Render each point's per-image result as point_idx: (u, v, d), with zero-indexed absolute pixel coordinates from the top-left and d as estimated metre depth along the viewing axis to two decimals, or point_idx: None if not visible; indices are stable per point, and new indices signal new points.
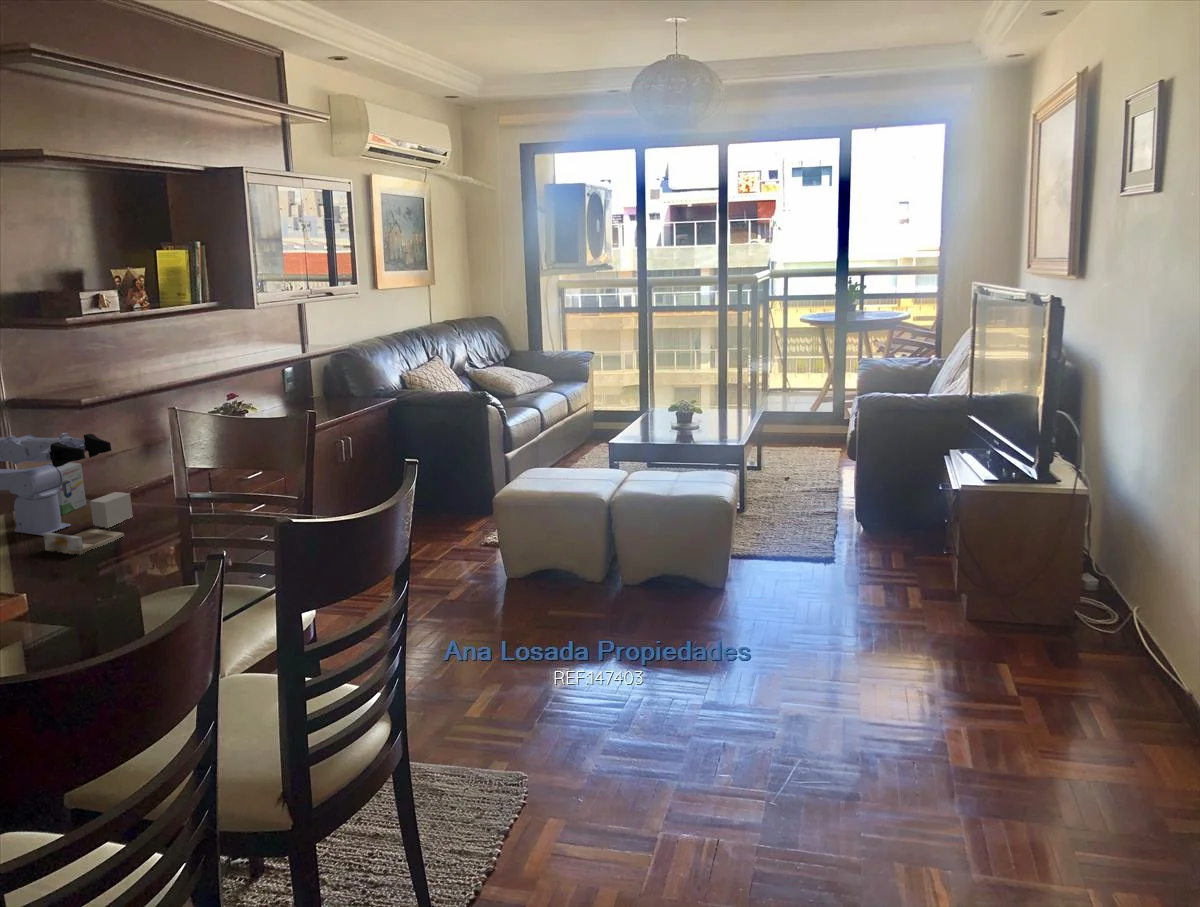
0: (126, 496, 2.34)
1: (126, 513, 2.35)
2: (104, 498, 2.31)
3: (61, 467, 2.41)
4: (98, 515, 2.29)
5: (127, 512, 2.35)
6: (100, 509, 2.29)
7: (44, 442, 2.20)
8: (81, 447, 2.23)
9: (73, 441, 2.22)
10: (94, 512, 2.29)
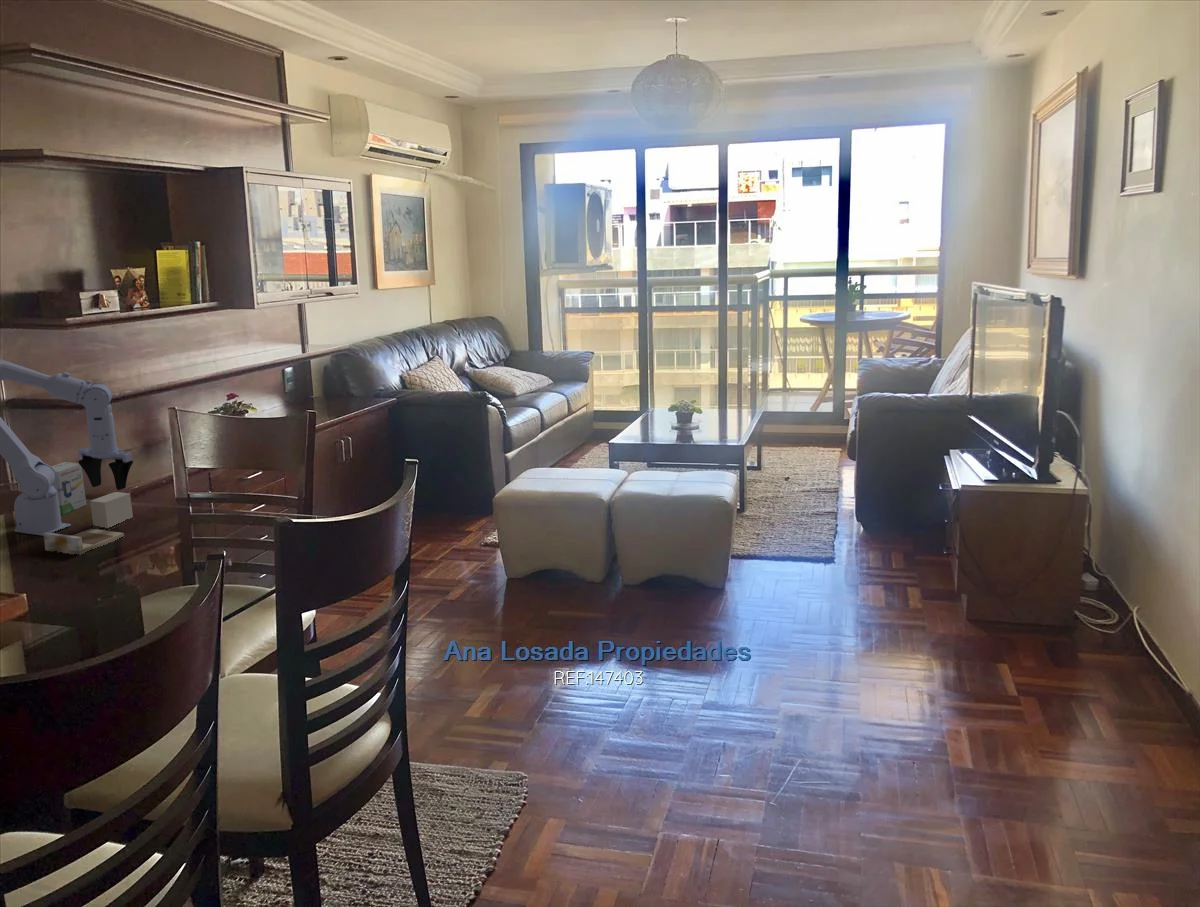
0: (126, 496, 2.34)
1: (126, 513, 2.35)
2: (104, 498, 2.31)
3: (61, 467, 2.41)
4: (98, 515, 2.29)
5: (127, 512, 2.35)
6: (100, 509, 2.29)
7: None
8: None
9: None
10: (94, 512, 2.29)
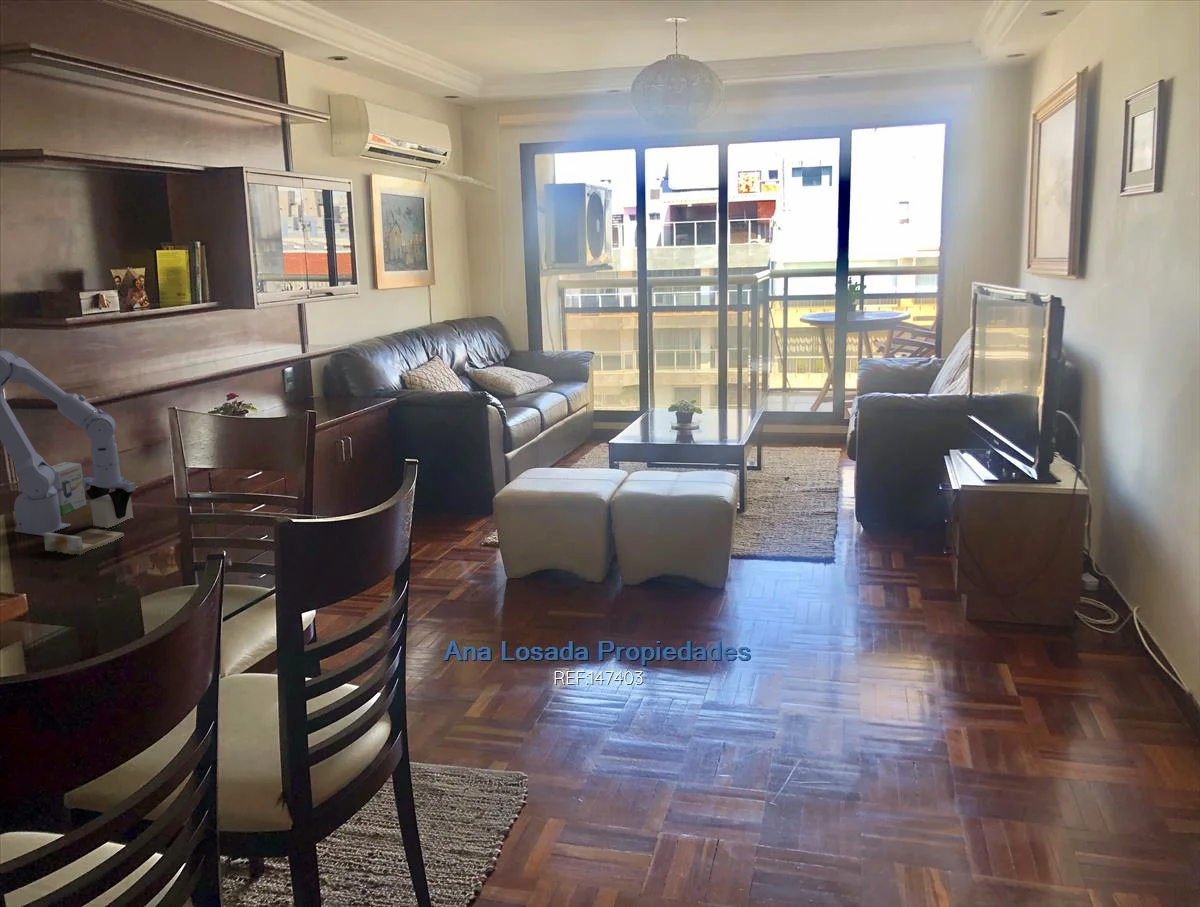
0: None
1: (127, 513, 2.35)
2: (104, 498, 2.31)
3: (61, 467, 2.41)
4: (98, 514, 2.29)
5: (127, 512, 2.35)
6: (100, 509, 2.29)
7: (118, 463, 2.31)
8: None
9: None
10: (94, 512, 2.29)
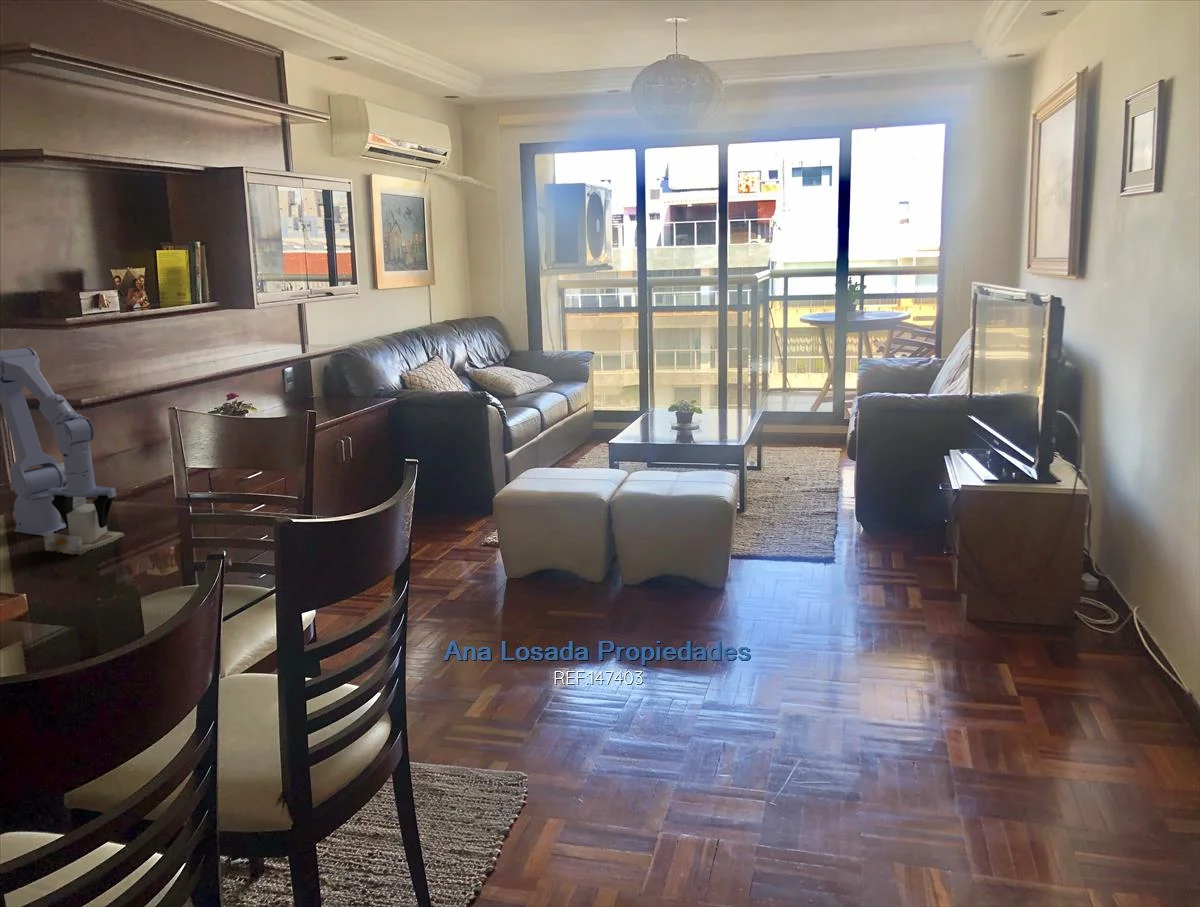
0: None
1: None
2: (81, 511, 2.17)
3: (61, 467, 2.41)
4: (77, 528, 2.16)
5: None
6: (80, 522, 2.16)
7: None
8: None
9: None
10: (72, 526, 2.16)
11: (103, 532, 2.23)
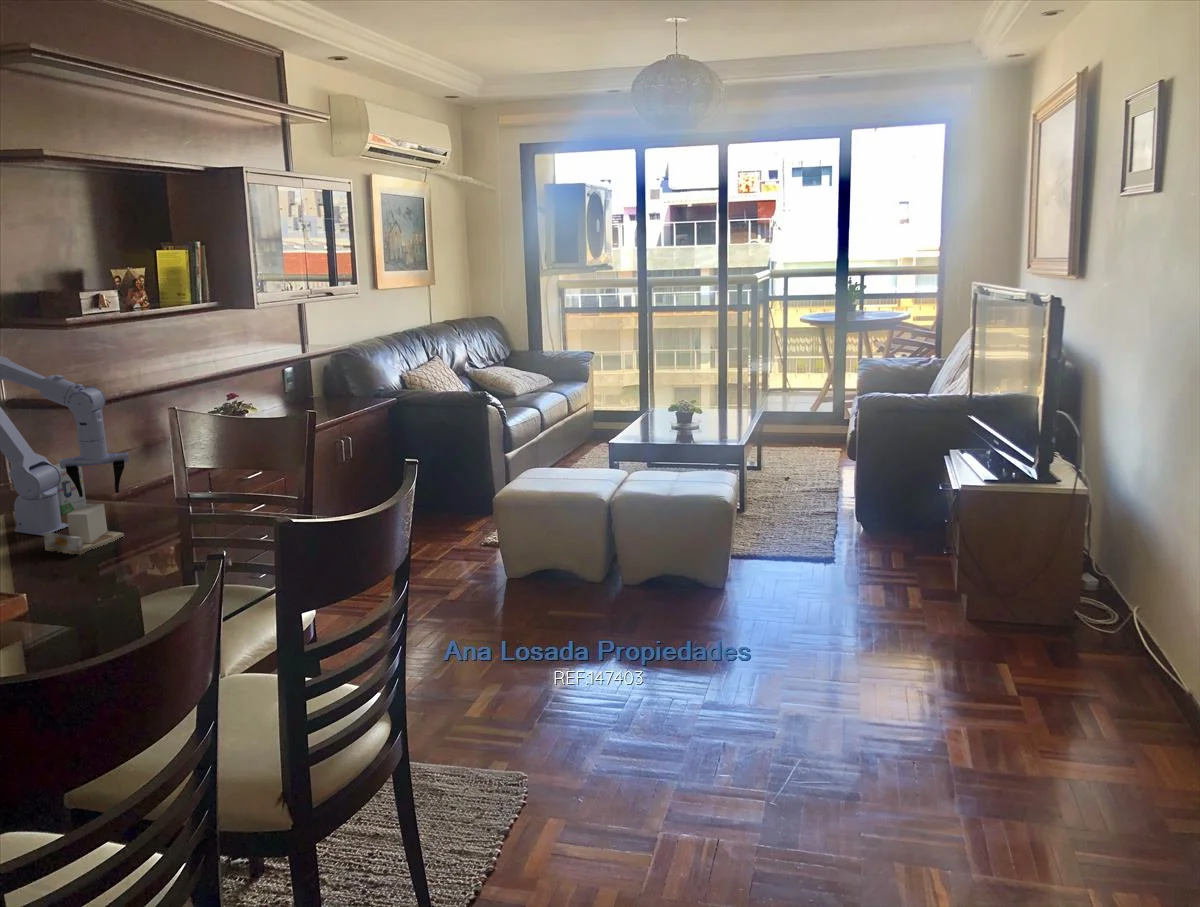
0: (101, 507, 2.22)
1: (102, 524, 2.22)
2: (81, 511, 2.17)
3: None
4: (77, 528, 2.16)
5: (103, 523, 2.22)
6: (80, 522, 2.16)
7: None
8: None
9: None
10: (72, 526, 2.16)
11: (103, 532, 2.23)
